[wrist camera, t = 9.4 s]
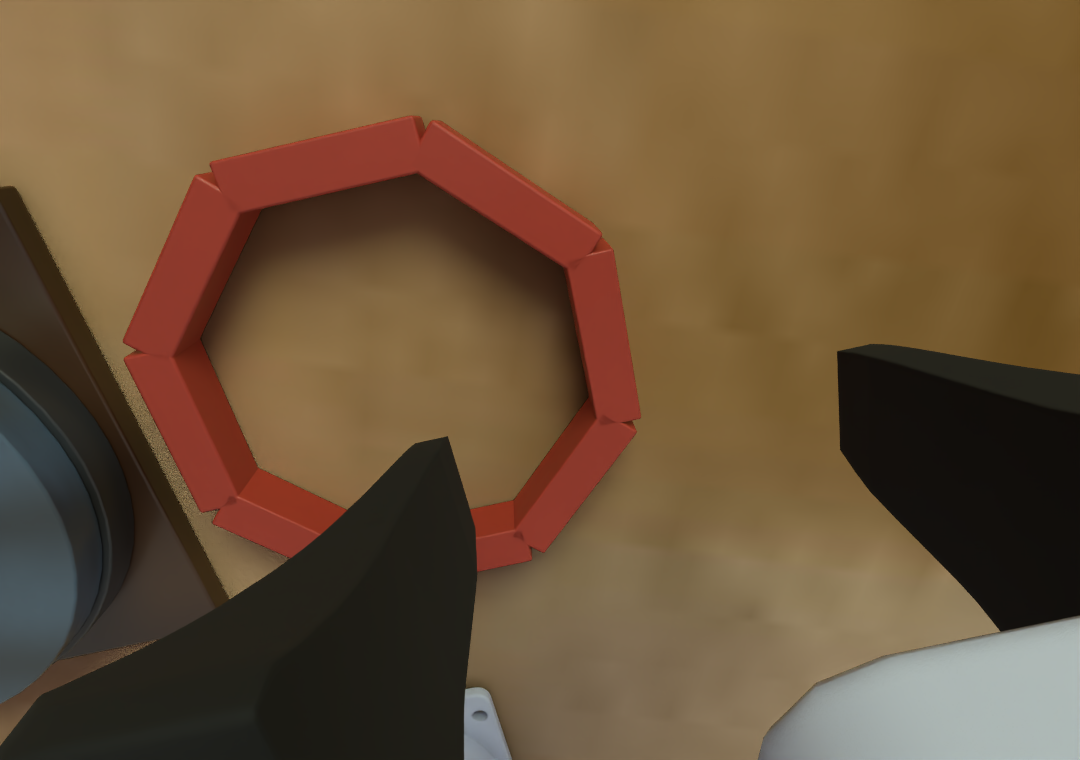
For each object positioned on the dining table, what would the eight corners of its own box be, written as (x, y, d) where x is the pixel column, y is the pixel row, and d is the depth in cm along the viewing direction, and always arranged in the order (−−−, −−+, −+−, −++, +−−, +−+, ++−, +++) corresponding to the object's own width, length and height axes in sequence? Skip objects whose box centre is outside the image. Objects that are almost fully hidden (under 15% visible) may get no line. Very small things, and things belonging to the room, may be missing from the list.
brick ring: (648, 503, 20) (661, 534, 18) (271, 583, 20) (253, 619, 19) (576, 79, 15) (584, 74, 14) (85, 193, 15) (40, 200, 14)
